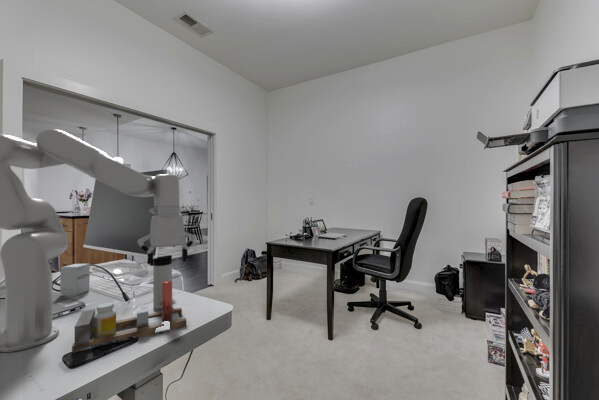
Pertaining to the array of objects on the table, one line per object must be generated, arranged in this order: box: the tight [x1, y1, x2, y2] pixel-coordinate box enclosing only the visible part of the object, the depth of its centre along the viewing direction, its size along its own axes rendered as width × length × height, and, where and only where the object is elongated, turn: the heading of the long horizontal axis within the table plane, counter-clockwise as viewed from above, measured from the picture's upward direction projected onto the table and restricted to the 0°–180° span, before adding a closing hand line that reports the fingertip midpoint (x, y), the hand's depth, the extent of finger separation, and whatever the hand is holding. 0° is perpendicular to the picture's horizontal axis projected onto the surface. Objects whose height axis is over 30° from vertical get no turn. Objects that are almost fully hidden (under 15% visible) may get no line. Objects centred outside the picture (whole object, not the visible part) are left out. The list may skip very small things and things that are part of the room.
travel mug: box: [152, 254, 173, 312], centre depth 98 cm, size 6×7×20 cm
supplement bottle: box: [93, 301, 117, 338], centre depth 77 cm, size 5×5×10 cm
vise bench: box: [71, 307, 187, 353], centre depth 81 cm, size 28×12×7 cm, turn 122°
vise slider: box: [136, 280, 181, 329], centre depth 84 cm, size 12×7×13 cm, turn 122°
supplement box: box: [59, 263, 91, 297], centre depth 117 cm, size 7×7×13 cm
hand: (168, 262), depth 86 cm, fingers open, 9 cm apart
